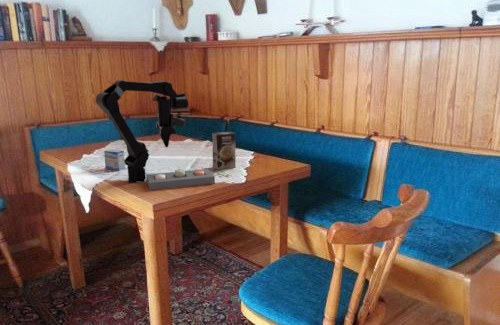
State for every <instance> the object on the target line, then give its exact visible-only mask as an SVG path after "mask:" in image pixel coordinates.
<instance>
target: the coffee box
mask: <svg viewBox="0 0 500 325" xmlns="http://www.w3.org/2000/svg"><path fill="white" fill-rule="evenodd" d="M211 134H212V136H211V137H212V139H211V140H212V168H214V169H217V171H218V170H226V169H233V168H234V169H235V168H236V133H235V132H232V131H221V132H212V133H211Z"/></svg>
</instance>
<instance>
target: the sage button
mask: <svg viewBox="0 0 500 325" xmlns="http://www.w3.org/2000/svg"><path fill="white" fill-rule="evenodd" d="M185 171H186V170H185V169H176V170H174V172H175V178H178V177H185Z"/></svg>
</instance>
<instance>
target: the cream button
mask: <svg viewBox="0 0 500 325" xmlns="http://www.w3.org/2000/svg"><path fill="white" fill-rule="evenodd" d="M157 174H158V173H157ZM157 179H165V175H164V174H158V175H155V180H157Z"/></svg>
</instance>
